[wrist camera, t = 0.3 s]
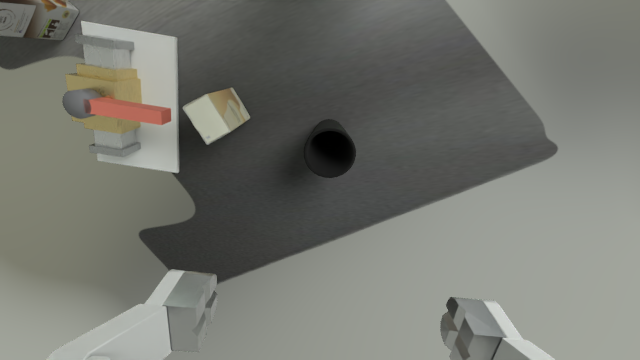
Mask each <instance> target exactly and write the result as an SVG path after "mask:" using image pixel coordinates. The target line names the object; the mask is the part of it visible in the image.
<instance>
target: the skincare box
mask: <svg viewBox="0 0 640 360" xmlns="http://www.w3.org/2000/svg"><path fill="white" fill-rule="evenodd" d="M183 110H184V111H185V113H186V114H187V116H188V117H189V119H190V120H191V122H192V123H193V125H194V127H195V128H196V129H197V131H198V132H199V134H200V135H201V137H202V138H203V140H204V141H205V143H206V144H209V143H211V142H213V141H215V140H217V139H219V138H221V137H223V136H224V135H226V134H228V133H229V132H231V131H232V130H234V129H236V128H237V127H238V126H240V125H241V124H243V123H244V122H246V121H247V120H249V119H250V116H249V114H248V112H247V110H246V109H245V107H244V105H243V103H242V102H241V100H240V99H239V97H238V95H237V94H236V92H235V91H234V89H233V88H229V89H225V90H221V91H217V92H213V93H209V94H205V95H203V96H201V97H200V98H198V99H196V100H194V101H192V102H190V103H188V104H187V105H185V106H183Z"/></svg>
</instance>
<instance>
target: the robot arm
mask: <svg viewBox="0 0 640 360" xmlns="http://www.w3.org/2000/svg"><path fill="white" fill-rule="evenodd" d="M216 285H217V276H216V275H215V274H209V273H200V272H192V271H181V270H173V269H172V270H170V271H168V272H167V274H166V275H165V276H164V278H163V279H162V281H161V282H160V283H159V285H158V286H157V287H156V289H155V290H154V291H153V293H152V294H151V295H150V297H149V298H148V299H147V301H146V302H145V304H138V305H137V306H135V307H133V308H131V309H129V310H127V311H125V312H124V313H122V314H120V315H118V316H116V317H115V318H113V319H111V320H109V321H107V322H105V323H103V324H102V325H100V326H98V327H96V328H94V329H92V330H91V331H89V332H87V333H85V334H83V335H81V336H80V337H78V338H76V339H74V340H72V341H71V342H69V343H67V344H65V345H63V346H61V347H60V348H58V349H56V350H54V351H53V352H52V353H51V354H50V355H49V356H48V358H47V359H46V360H163V359H164V358H165V357H166V356H167V355H169V353H171V351H188V352H199V350H200V348H201V346H202V343H203V341H204V339H205V336H206V326H207V325H209V324H210V323H211V322H212V320H213V317H214V315H215V311H216V307H217V293H216V292H215V291H214V289H215V287H216ZM446 306H447V309H448V312H447V313H445V314H444V315H443V316H442V320H441V336H442V339H443V342H444V344H445V345H446V346H447V347H448V348H449V349H450V350H451V354H450V359H451V360H555V359H554V358H552V357H551V356H550V355H548V354H547V353H545V352H544V351H542V350H541V349H540V348H538V347H537V346H535V345H534V344H533V343H531V342H530V341H528V340H523V339H522V337H521V336H520V334H519V333H518V331H517V330H516V329H515V327H514V326H513V324H512V323H511V321H510V320H509V318H508V317H507V316H506V314H505V313H504V311H503V310H502V308H501V307H500V306H499V304H498V303H497V302H496V301H494V300H482V299H479V300H478V299H466V298H456V297H450V299H449V300H448V302H447V304H446Z"/></svg>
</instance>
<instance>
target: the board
mask: <svg viewBox="0 0 640 360" xmlns="http://www.w3.org/2000/svg"><path fill="white" fill-rule="evenodd" d="M81 26H82V34H83V35H94V36H102V37H108V38H114V39H120V40H126V41H132V42H134V48H135V50H130V59H131V68H134V69H137V77H138V78H139V79H141V95H142V104H147V105H154V106H160V107H166V108H171V122H168V123H166V124H163V125H157V124H151V123H144V122H140V125H141V127H139V128H136V129H135V131H136V142H140V143H141V149H139V150H137V151H135V152H133V153H131V154H129V155H127V156H125V157H117V156H111V155H104V154H98V153H97V157H98V161H103V162H109V163H115V164H122V165H128V166H135V167H141V168H148V169H154V170H161V171H167V172H174V173H178V172H179V119H178V52H177V37H172V36H166V35H161V34H155V33H149V32H143V31H138V30H132V29H126V28H120V27H114V26H109V25H103V24H97V23H91V22H86V21H81Z"/></svg>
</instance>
